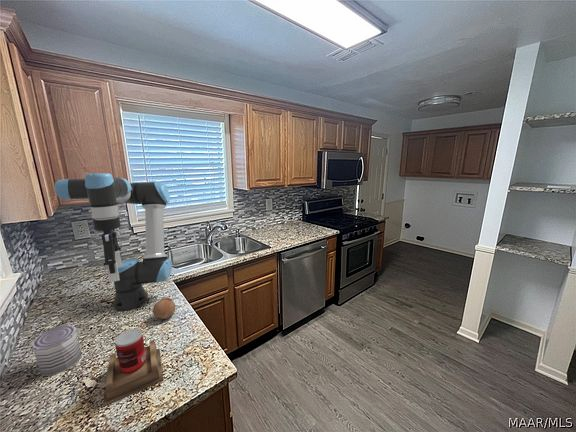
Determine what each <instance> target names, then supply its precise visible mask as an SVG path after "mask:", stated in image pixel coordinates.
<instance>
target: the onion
mask: <svg viewBox="0 0 576 432" xmlns="http://www.w3.org/2000/svg"><path fill="white" fill-rule="evenodd" d="M175 311H176V304H175V302H174V301H173V299H172V298H171V297H167V296H166V297H164V298H162V299H160V300H158V301H157V302H155V304H154V306H153V308H152V314H153V316H154V317H155V318H157V319H158V320H162V321H163V320H167V319H169V318H171V317H172V316H173V315H174V314H175Z"/></svg>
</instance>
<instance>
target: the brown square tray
mask: <svg viewBox="0 0 576 432" xmlns="http://www.w3.org/2000/svg"><path fill="white" fill-rule="evenodd" d="M144 347H145V353H146V361H145V363H144V365H143V366H142V367H141V368H140V369H138V370H137V371H135V372H132V373H123V372H121V370H120V367H119V362H118V357H117V353H116V352H114V353H111V354H109V357H108V358H109V359H108V366H107V372H106V378H105V385H104V386H105V390H104V395H103V396H104V397H103V403H102V407H103V408H105V407H106V406H108V405H111V404H113V403H115V402H118V401H120V400H122V399H125V398H127V397H129V396H131V395H133V394H136V393H138V392H140V391H143V390H145V389H147V388H149V387H151V386H154V385H157V384H159V383H160V382H163V381H164V375H163V367H162V365H163V364H162V357H161V351H160V350H161V349H160V348H157V344H156V343H155V339H151V340H149V345H148V346H144Z"/></svg>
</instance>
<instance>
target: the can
mask: <svg viewBox="0 0 576 432" xmlns="http://www.w3.org/2000/svg"><path fill="white" fill-rule="evenodd" d="M77 329H78V328H77V327H76V326H74V325H73V324H72V323H71V324H70V323H69V324H64V325H56V326H54V327H52V328H50V329H48V330H45V331H44V332H42V333H40V334H38V335H37V336H36V338H35V339H33V340H32V341H31V343H30V346H31V347H32V350H33V352H34V357H35V360H36V363H37V367H38V371H39V373H40V375H41V376H42V377H52V376H55V375H58V374H60V373H63V372H66V371H67V370H69V369H70V368H72V367H73V366H74V365H76V364H77V363H79V361H80V359H81V358H82V356H83V355H82V350H81V345H80V342H79V341H80V340H79V338H78V334H77V333H78V332H77Z"/></svg>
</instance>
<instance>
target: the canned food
mask: <svg viewBox="0 0 576 432" xmlns="http://www.w3.org/2000/svg"><path fill="white" fill-rule="evenodd" d="M144 342H145V341H144V335H143V331H142V330H141V329H139V328H131V329H127V330H125V331H123V332H121V333H120V334H119V335H118V336H116V338H115V339H114V347H115V353H116V358H117V357H118V362H119V367H120V370H121V372H123V373H132V372H135V371H137V370H138V369H140V368H141V367H142V366H143V365H144V363H145V361H146V353H145V347H146V346H145V343H144Z"/></svg>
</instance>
